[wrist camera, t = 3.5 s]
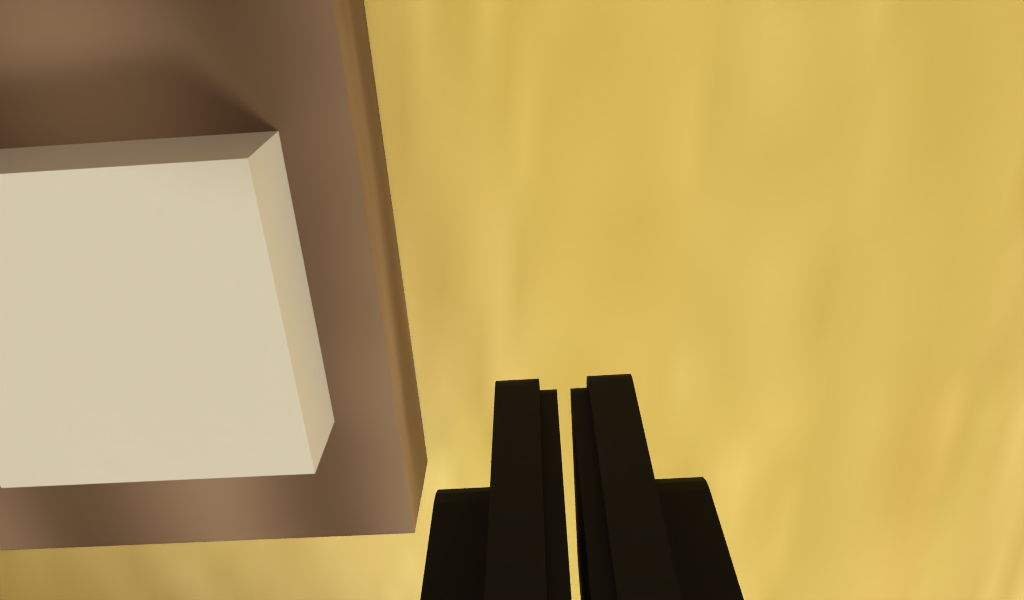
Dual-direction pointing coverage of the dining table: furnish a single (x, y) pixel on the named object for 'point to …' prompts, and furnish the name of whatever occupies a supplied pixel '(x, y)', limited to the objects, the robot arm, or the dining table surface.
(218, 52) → the flat wooden board
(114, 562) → the dining table surface
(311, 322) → the tile
